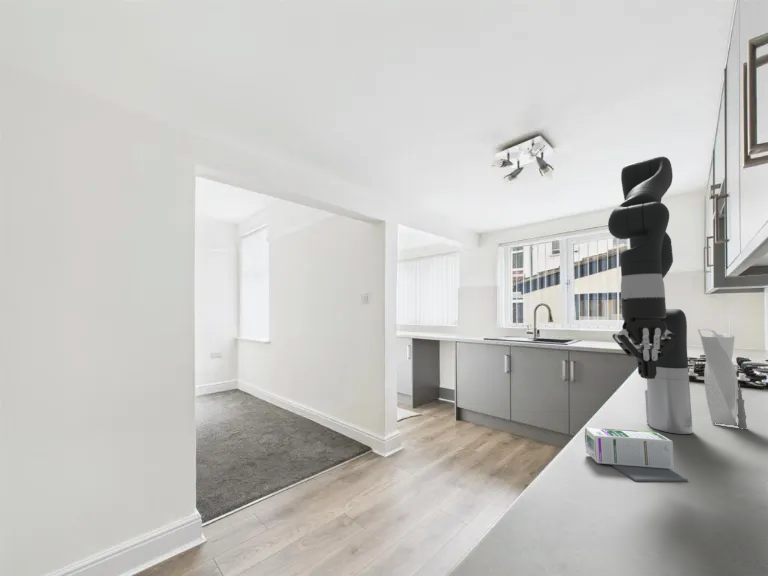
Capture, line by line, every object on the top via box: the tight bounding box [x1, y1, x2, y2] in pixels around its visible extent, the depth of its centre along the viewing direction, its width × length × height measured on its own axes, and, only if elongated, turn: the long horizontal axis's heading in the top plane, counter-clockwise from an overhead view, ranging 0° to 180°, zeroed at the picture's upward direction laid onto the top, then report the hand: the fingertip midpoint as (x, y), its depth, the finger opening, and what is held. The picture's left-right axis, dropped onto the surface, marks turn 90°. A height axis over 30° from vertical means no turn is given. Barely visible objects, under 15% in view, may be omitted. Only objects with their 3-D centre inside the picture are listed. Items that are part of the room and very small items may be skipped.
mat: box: [609, 464, 689, 483], centre depth 70 cm, size 12×10×1 cm
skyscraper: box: [697, 327, 748, 429], centre depth 100 cm, size 8×8×28 cm
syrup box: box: [584, 427, 675, 470], centre depth 73 cm, size 6×6×14 cm
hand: (647, 378), depth 72 cm, fingers closed
